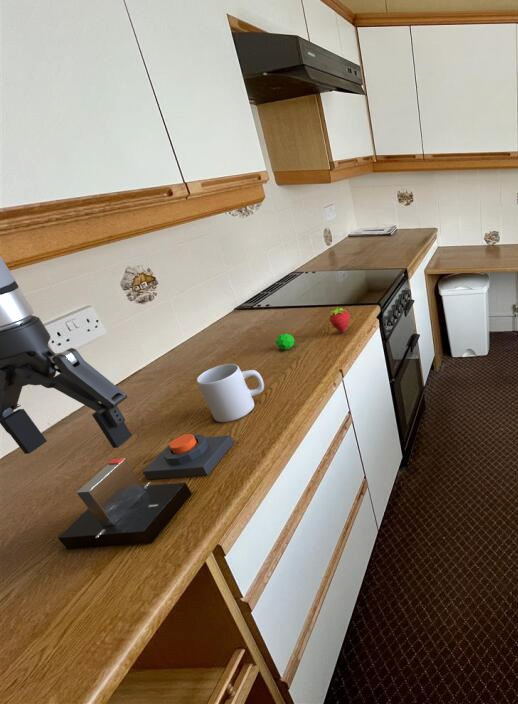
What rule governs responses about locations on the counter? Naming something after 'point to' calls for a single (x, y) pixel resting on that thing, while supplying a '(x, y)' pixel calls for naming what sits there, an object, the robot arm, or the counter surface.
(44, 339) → the robot arm
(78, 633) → the counter surface
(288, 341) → the polyhedron
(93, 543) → the panel
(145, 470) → the button box
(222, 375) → the mug
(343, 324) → the strawberry
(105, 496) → the grey metallic block
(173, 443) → the button
